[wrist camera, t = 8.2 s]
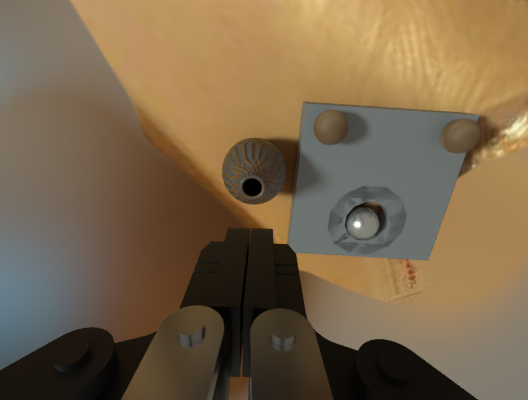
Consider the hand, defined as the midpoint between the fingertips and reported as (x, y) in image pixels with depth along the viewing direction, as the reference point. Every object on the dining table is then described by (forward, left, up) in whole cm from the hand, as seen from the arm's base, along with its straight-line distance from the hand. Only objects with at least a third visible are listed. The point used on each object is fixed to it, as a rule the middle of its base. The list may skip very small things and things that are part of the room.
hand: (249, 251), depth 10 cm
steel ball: (+10, +13, -23) cm, 28 cm away
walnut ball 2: (-1, +20, -20) cm, 28 cm away
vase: (+4, 0, -25) cm, 25 cm away
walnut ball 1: (-2, +7, -20) cm, 21 cm away
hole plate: (+5, +13, -24) cm, 28 cm away
